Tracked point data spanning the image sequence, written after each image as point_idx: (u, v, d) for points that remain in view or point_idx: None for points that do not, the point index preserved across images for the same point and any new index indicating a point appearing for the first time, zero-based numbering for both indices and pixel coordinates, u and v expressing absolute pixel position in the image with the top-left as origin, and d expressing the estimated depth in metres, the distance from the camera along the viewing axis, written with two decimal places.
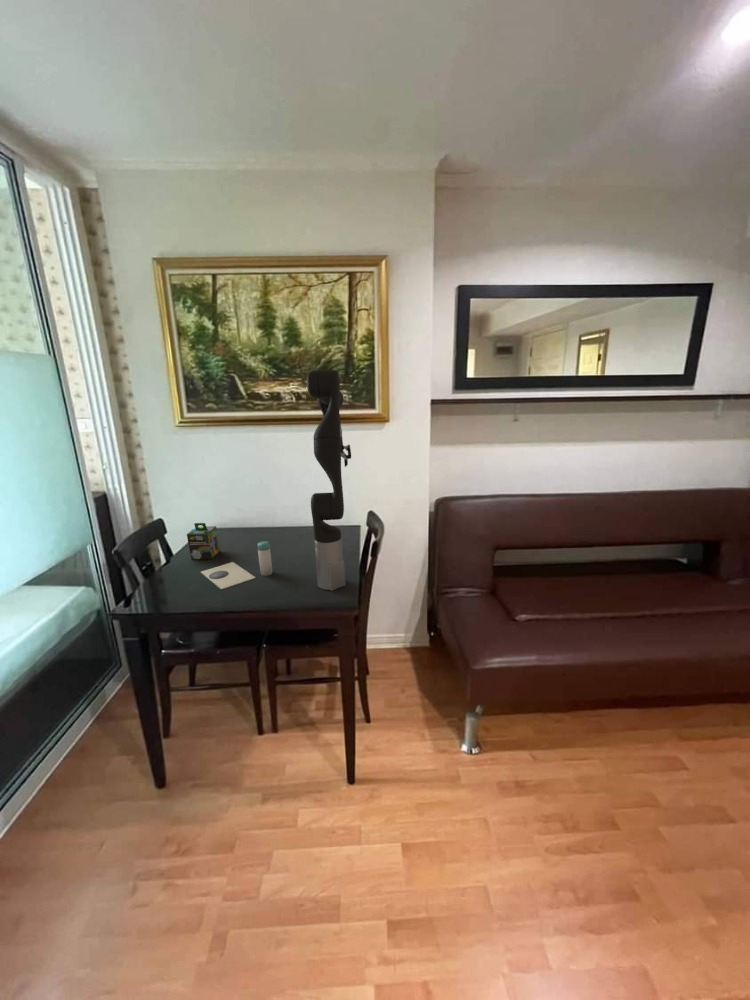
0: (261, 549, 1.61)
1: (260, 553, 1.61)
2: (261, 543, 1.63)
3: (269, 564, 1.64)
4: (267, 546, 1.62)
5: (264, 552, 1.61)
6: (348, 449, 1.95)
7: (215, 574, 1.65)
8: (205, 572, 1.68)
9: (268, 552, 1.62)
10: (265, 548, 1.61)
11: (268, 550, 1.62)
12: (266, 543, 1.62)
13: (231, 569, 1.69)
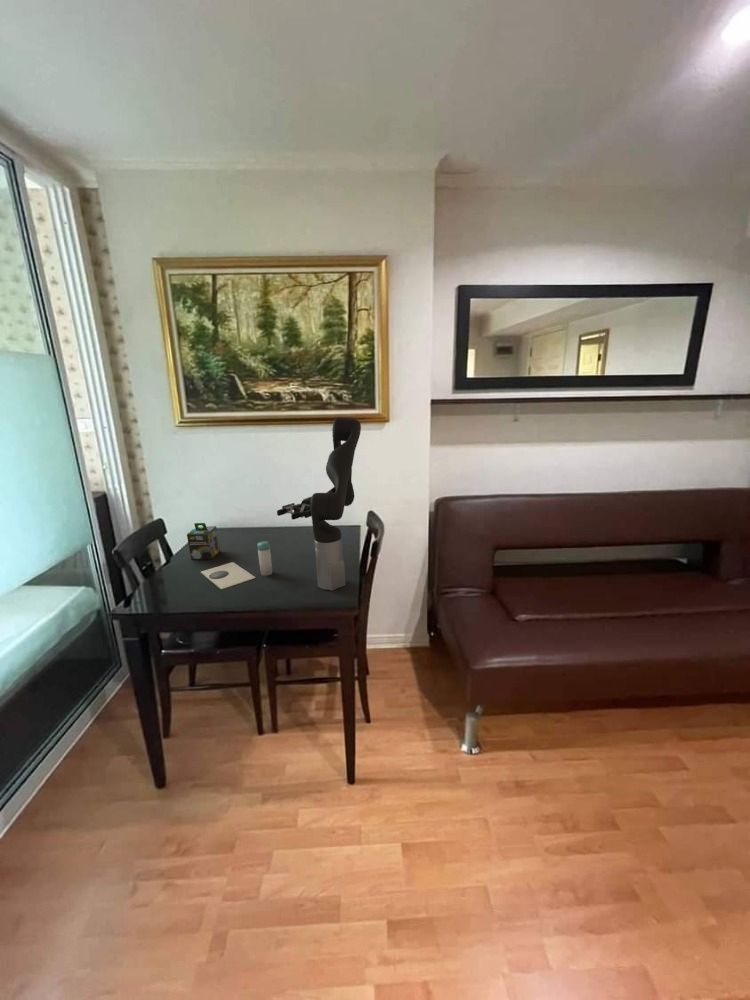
0: (261, 549, 1.61)
1: (260, 553, 1.61)
2: (261, 543, 1.63)
3: (269, 564, 1.64)
4: (267, 546, 1.62)
5: (264, 552, 1.61)
6: None
7: (215, 574, 1.65)
8: (205, 572, 1.68)
9: (268, 552, 1.62)
10: (265, 548, 1.61)
11: (268, 550, 1.62)
12: (266, 543, 1.62)
13: (231, 569, 1.69)
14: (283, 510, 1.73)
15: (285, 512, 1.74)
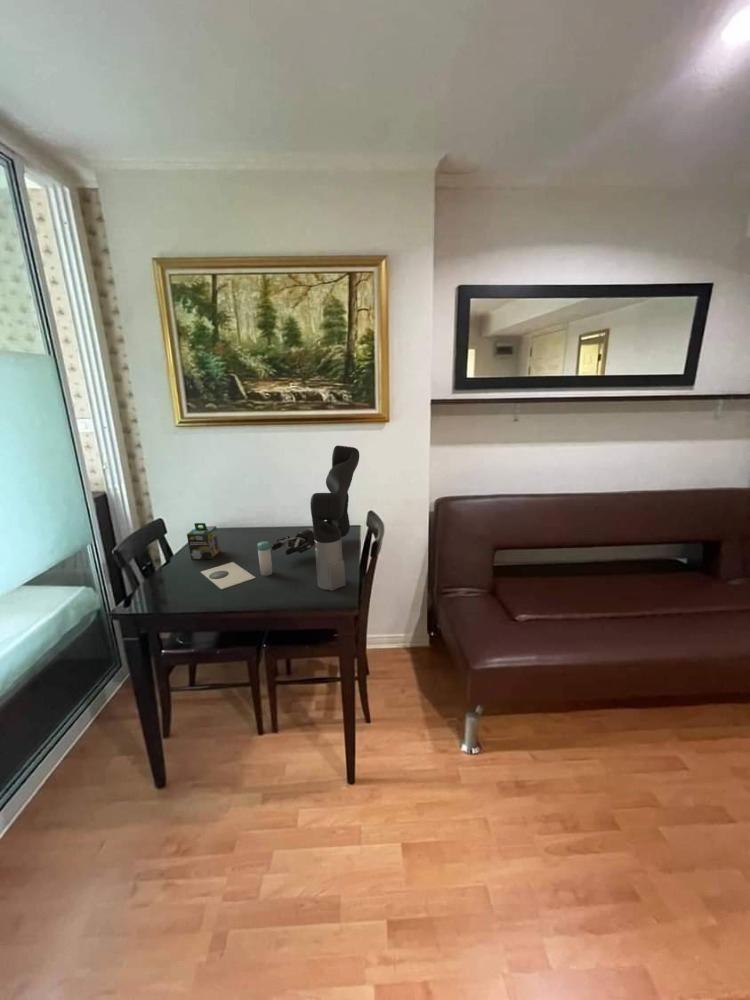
0: (261, 549, 1.61)
1: (260, 553, 1.61)
2: (261, 543, 1.63)
3: (269, 564, 1.64)
4: (267, 546, 1.62)
5: (264, 552, 1.61)
6: (307, 543, 1.72)
7: (215, 574, 1.65)
8: (205, 572, 1.68)
9: (268, 552, 1.62)
10: (265, 548, 1.61)
11: (268, 550, 1.62)
12: (266, 543, 1.62)
13: (231, 569, 1.69)
14: (278, 544, 1.73)
15: (280, 546, 1.74)
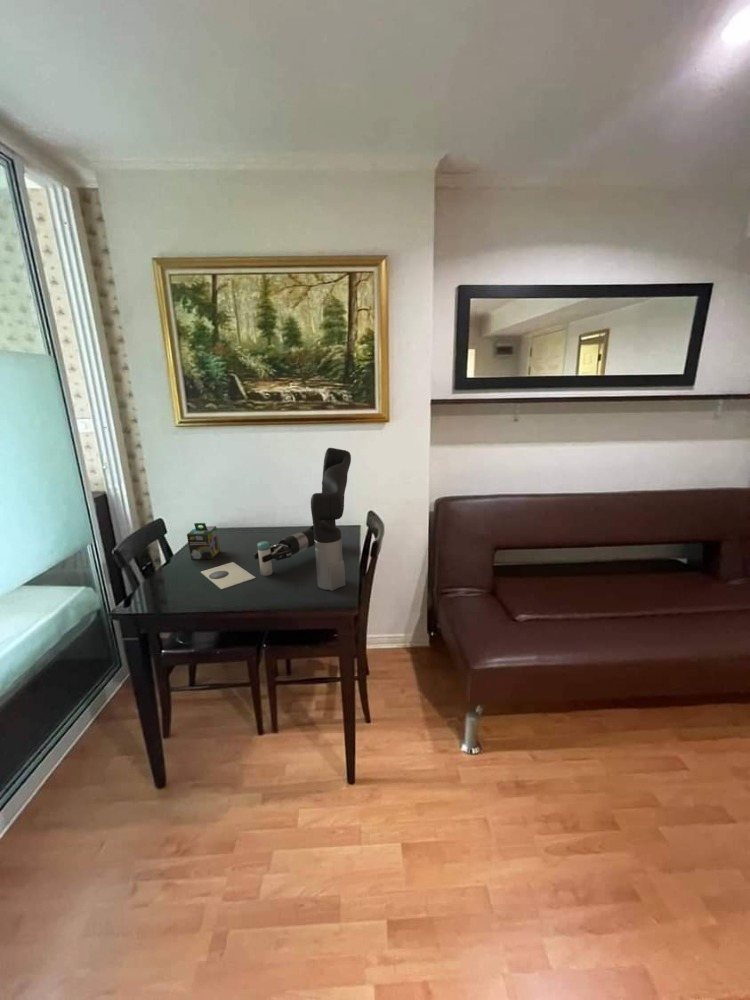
0: (261, 549, 1.61)
1: (260, 553, 1.61)
2: (261, 543, 1.63)
3: (269, 564, 1.63)
4: (267, 546, 1.61)
5: (264, 552, 1.61)
6: (287, 551, 1.65)
7: (215, 574, 1.65)
8: (205, 572, 1.68)
9: (268, 552, 1.62)
10: (265, 548, 1.61)
11: (268, 550, 1.62)
12: (266, 543, 1.62)
13: (231, 569, 1.69)
14: None
15: None
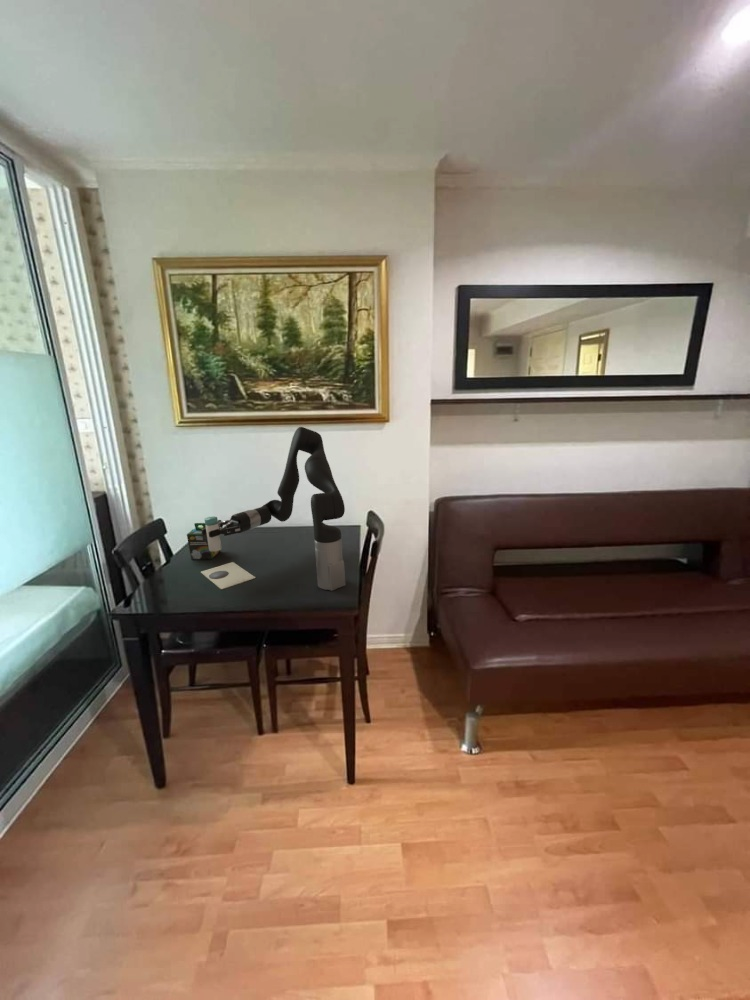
0: (208, 524, 1.57)
1: (207, 528, 1.58)
2: (209, 518, 1.59)
3: (217, 539, 1.60)
4: (214, 521, 1.58)
5: (211, 527, 1.58)
6: (236, 526, 1.61)
7: (215, 574, 1.65)
8: (205, 572, 1.68)
9: (216, 527, 1.59)
10: (213, 523, 1.58)
11: (216, 525, 1.59)
12: (214, 518, 1.59)
13: (231, 569, 1.69)
14: None
15: None
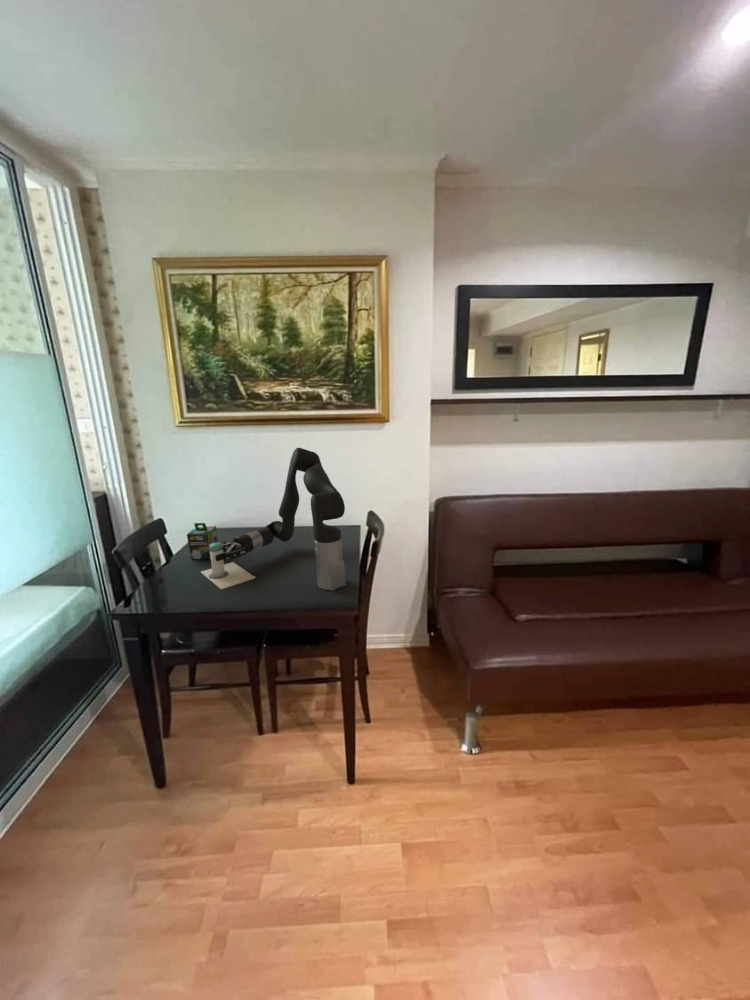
0: (212, 550, 1.60)
1: (212, 554, 1.61)
2: (213, 544, 1.62)
3: (221, 565, 1.63)
4: (219, 547, 1.61)
5: (215, 553, 1.61)
6: (241, 549, 1.64)
7: None
8: (205, 572, 1.68)
9: (220, 553, 1.62)
10: (217, 549, 1.60)
11: (220, 551, 1.62)
12: (218, 544, 1.62)
13: (231, 569, 1.69)
14: None
15: None
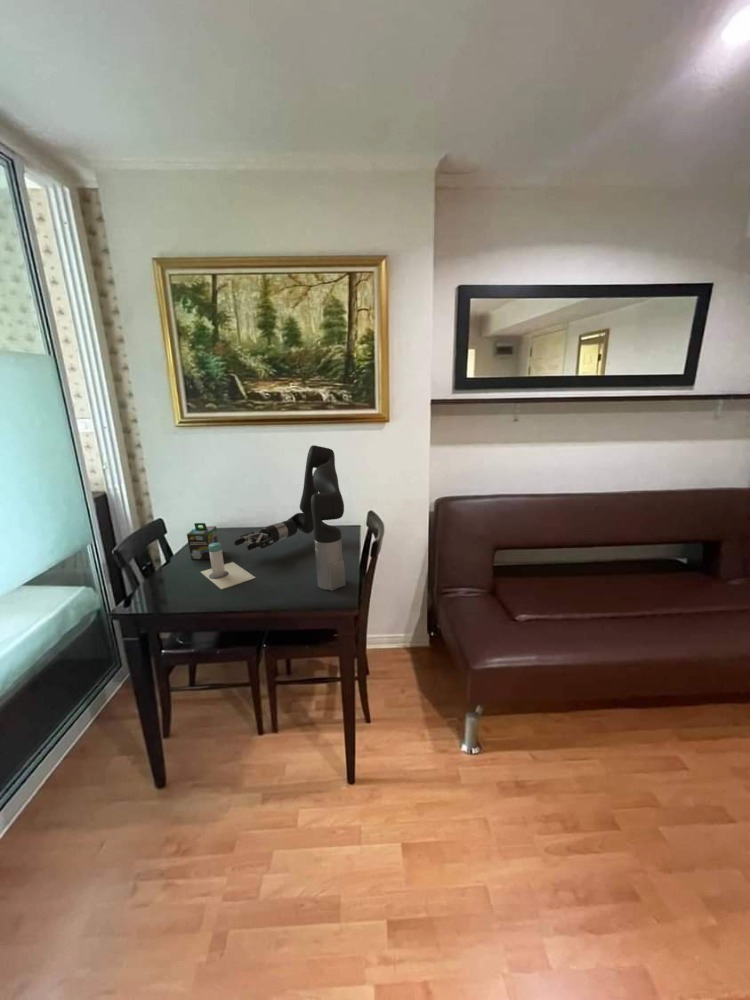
0: (212, 550, 1.60)
1: (211, 554, 1.61)
2: (212, 544, 1.62)
3: (221, 565, 1.63)
4: (218, 547, 1.61)
5: (215, 553, 1.61)
6: (269, 538, 1.74)
7: None
8: (205, 572, 1.68)
9: (219, 553, 1.62)
10: (216, 550, 1.60)
11: (219, 551, 1.61)
12: (217, 544, 1.62)
13: (231, 569, 1.69)
14: (241, 540, 1.75)
15: (243, 541, 1.76)
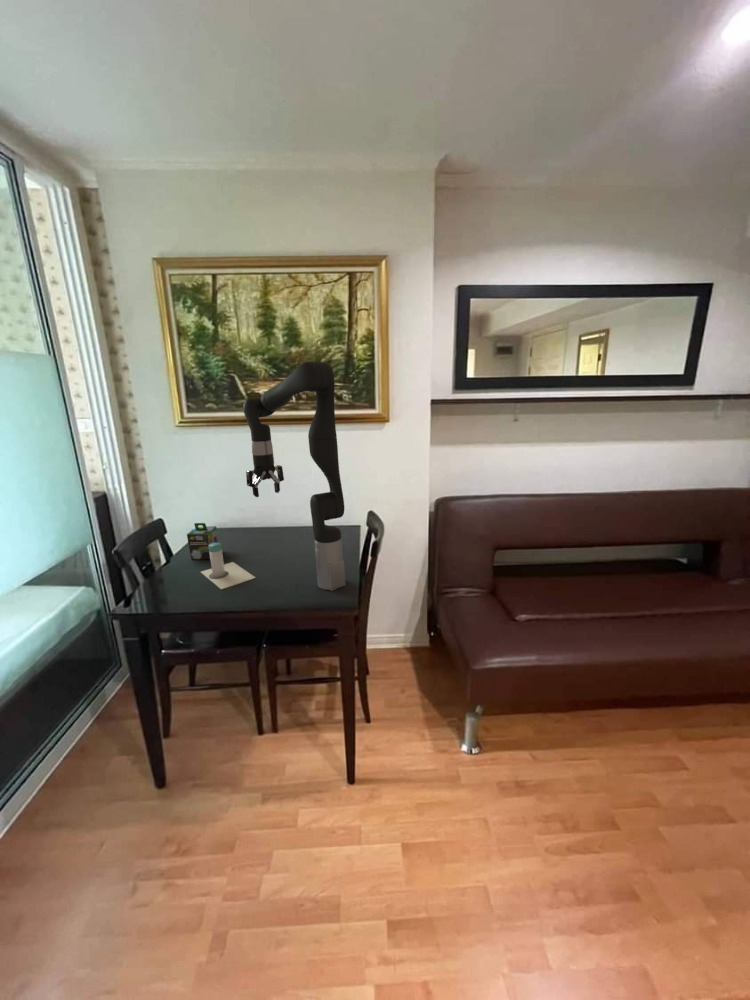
0: (212, 550, 1.60)
1: (211, 554, 1.61)
2: (212, 544, 1.62)
3: (221, 565, 1.63)
4: (218, 547, 1.61)
5: (215, 553, 1.61)
6: (280, 468, 1.68)
7: None
8: (205, 572, 1.68)
9: (219, 553, 1.62)
10: (216, 550, 1.60)
11: (219, 551, 1.62)
12: (217, 544, 1.62)
13: (231, 569, 1.69)
14: None
15: None
